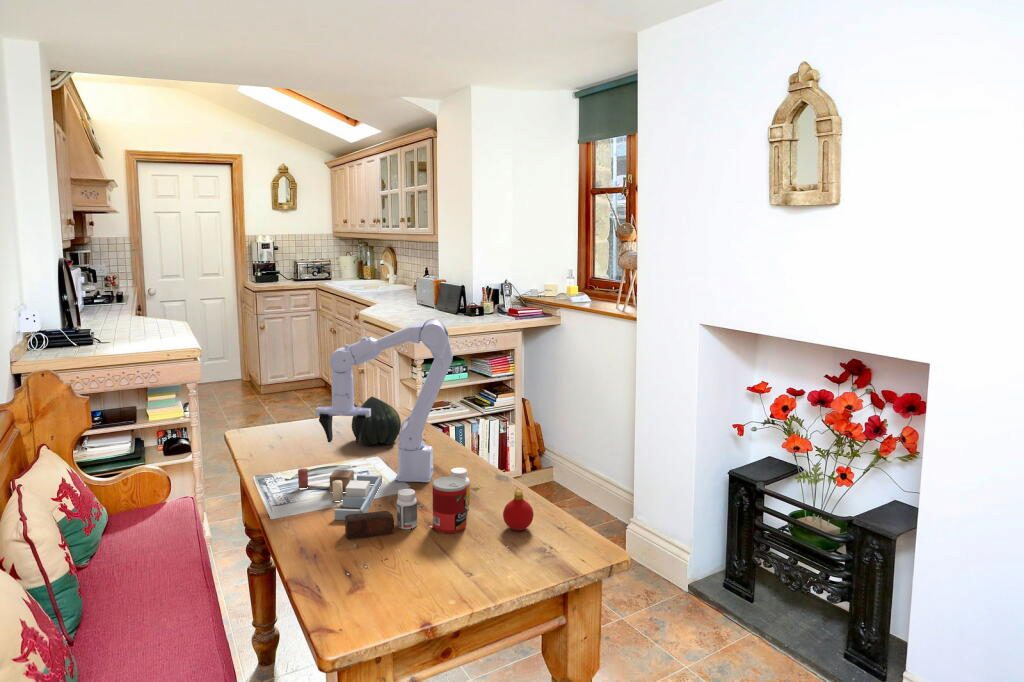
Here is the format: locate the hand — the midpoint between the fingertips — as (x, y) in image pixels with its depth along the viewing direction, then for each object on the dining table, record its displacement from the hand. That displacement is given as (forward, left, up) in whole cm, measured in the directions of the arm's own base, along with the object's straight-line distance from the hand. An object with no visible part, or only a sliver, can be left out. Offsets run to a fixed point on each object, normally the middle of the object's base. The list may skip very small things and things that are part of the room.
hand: (344, 441), depth 194 cm
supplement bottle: (-33, +17, -11) cm, 39 cm away
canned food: (-32, +28, -11) cm, 44 cm away
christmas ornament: (-48, +28, -11) cm, 57 cm away
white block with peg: (-5, +15, -10) cm, 19 cm away
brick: (-14, +33, -11) cm, 37 cm away
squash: (-2, -30, -11) cm, 32 cm away
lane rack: (-8, +15, -10) cm, 20 cm away
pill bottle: (-22, +28, -11) cm, 37 cm away
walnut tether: (+3, +8, -10) cm, 14 cm away
